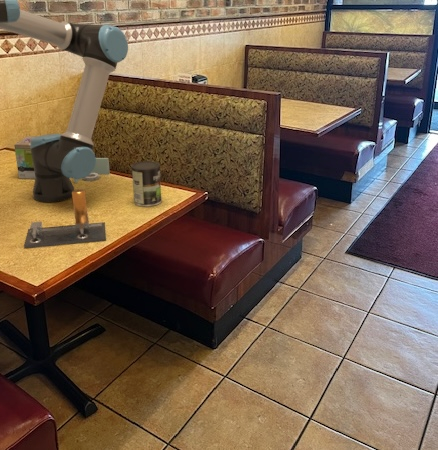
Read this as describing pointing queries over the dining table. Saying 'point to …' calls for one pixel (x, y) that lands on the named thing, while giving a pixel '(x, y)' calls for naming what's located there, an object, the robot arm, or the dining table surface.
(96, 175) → the l-shaped corner panel
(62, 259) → the dining table surface
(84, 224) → the sliding jaw
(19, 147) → the tea box
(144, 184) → the coffee can
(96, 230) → the plate
